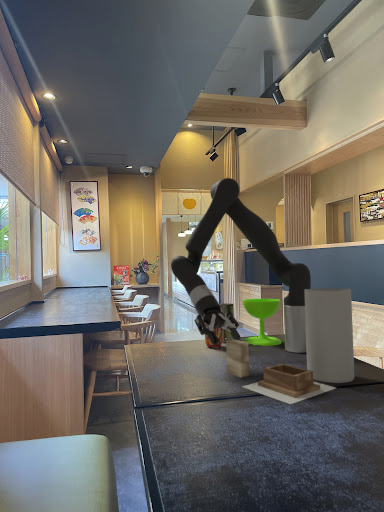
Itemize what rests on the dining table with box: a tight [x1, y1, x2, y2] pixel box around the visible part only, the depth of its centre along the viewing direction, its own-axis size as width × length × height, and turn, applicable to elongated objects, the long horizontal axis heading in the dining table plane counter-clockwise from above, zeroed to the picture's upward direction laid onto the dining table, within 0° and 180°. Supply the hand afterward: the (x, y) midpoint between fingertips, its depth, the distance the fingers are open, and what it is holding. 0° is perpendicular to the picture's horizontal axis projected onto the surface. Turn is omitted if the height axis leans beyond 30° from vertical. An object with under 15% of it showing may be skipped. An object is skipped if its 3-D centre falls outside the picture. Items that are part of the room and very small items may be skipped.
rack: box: [257, 363, 320, 398], centre depth 94 cm, size 10×12×4 cm
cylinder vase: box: [305, 287, 355, 384], centre depth 103 cm, size 12×12×25 cm
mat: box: [241, 381, 336, 405], centre depth 94 cm, size 18×16×1 cm
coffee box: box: [219, 302, 235, 343], centre depth 161 cm, size 9×6×16 cm
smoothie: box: [204, 310, 223, 348], centre depth 147 cm, size 8×8×20 cm
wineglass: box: [242, 298, 282, 347], centre depth 155 cm, size 16×16×18 cm
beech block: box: [225, 339, 250, 379], centre depth 106 cm, size 3×6×10 cm, turn 35°
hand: (228, 341), depth 110 cm, fingers open, 8 cm apart
